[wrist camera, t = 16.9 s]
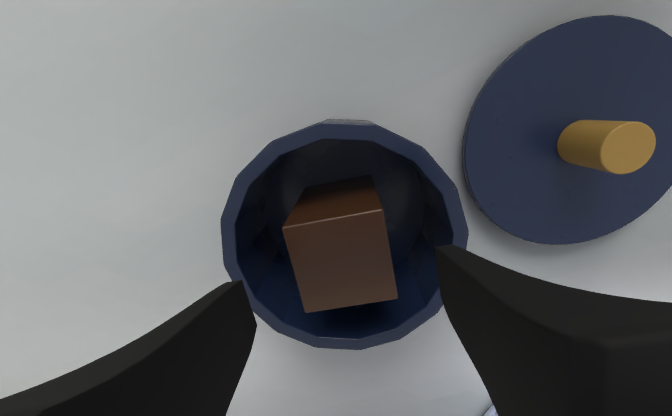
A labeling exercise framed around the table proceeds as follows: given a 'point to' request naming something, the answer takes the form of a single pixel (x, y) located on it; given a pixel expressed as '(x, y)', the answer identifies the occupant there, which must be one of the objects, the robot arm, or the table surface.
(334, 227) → the walnut block
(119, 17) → the table surface
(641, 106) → the tin lid
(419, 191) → the tin
